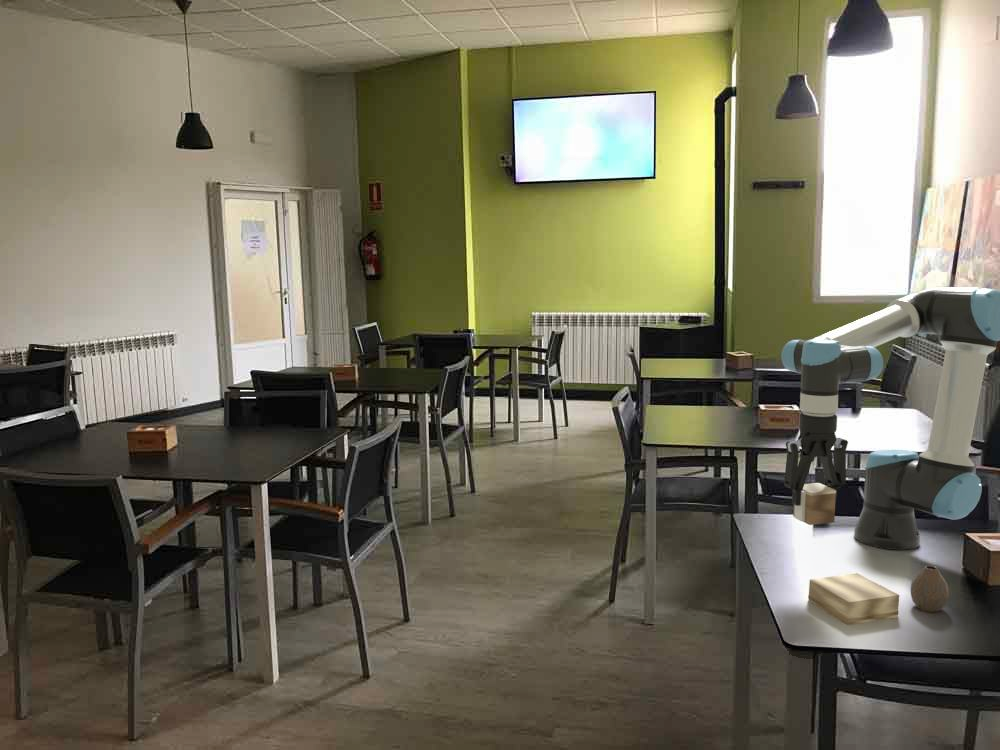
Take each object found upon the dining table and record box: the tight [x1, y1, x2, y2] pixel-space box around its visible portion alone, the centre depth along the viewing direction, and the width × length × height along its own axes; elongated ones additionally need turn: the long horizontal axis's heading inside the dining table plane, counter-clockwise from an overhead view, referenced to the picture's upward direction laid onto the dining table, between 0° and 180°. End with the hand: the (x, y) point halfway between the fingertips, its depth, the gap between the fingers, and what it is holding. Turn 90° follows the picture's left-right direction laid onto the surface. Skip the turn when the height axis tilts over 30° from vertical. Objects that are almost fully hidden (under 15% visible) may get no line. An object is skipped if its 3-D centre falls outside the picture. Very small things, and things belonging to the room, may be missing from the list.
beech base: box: [807, 573, 900, 626], centre depth 171 cm, size 12×12×5 cm
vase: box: [910, 564, 950, 613], centre depth 171 cm, size 7×7×9 cm
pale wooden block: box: [792, 482, 836, 526], centre depth 179 cm, size 6×6×7 cm
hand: (813, 517), depth 180 cm, fingers closed on pale wooden block, 6 cm apart
